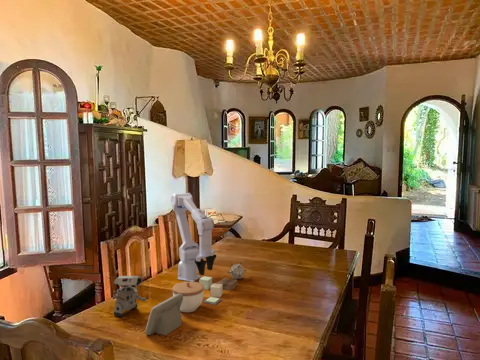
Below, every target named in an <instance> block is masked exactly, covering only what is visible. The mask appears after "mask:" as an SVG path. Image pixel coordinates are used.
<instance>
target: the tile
mask: <svg viewBox="0 0 480 360" xmlns="http://www.w3.org/2000/svg"><path fill="white" fill-rule="evenodd" d="M222 300H223V298H221V297H211V296H208V298H206V299H205V300H204V301H203V300H202V303H205V304H207V305H208V304H209V305H214V306H217V304H219V303H220V302H221V301H222Z"/></svg>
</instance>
